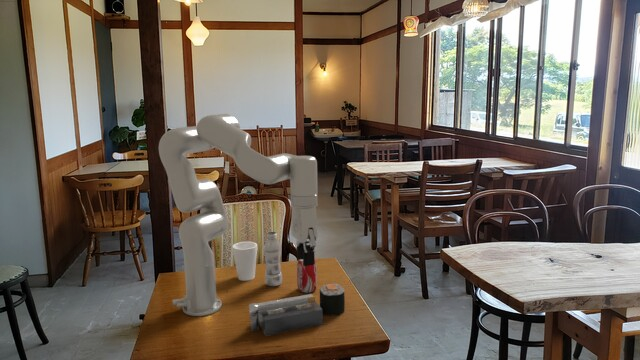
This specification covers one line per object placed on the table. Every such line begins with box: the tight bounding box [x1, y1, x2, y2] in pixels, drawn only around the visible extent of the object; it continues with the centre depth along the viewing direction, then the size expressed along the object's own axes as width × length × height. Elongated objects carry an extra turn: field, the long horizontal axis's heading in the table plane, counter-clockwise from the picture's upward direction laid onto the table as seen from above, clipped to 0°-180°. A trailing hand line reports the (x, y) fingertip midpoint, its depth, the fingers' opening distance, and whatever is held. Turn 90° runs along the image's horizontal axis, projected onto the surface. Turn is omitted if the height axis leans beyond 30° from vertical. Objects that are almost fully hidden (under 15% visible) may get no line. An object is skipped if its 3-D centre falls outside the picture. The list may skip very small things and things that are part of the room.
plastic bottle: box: [263, 231, 283, 287], centre depth 171 cm, size 6×7×20 cm
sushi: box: [319, 282, 346, 316], centre depth 151 cm, size 8×8×8 cm
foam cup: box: [232, 241, 258, 282], centre depth 179 cm, size 10×9×13 cm
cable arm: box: [248, 293, 316, 315], centre depth 142 cm, size 20×3×2 cm, turn 111°
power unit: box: [249, 300, 324, 337], centre depth 143 cm, size 21×10×5 cm, turn 111°
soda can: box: [296, 259, 318, 294], centre depth 166 cm, size 7×7×12 cm
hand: (305, 261), depth 133 cm, fingers open, 4 cm apart
